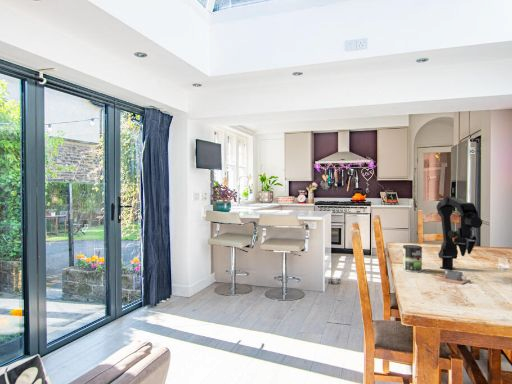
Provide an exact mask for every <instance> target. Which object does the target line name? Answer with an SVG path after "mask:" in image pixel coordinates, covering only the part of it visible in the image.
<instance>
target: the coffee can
mask: <svg viewBox="0 0 512 384" xmlns="http://www.w3.org/2000/svg"><path fill="white" fill-rule="evenodd" d="M402 249H403V250H402V270H403V271H405V272H409V273H420V272H422V270H423V269H422V268H423V267H422V266H423V263H422V261H423V257H422V256H423V246H421V245H415V244H404V245H403V246H402Z"/></svg>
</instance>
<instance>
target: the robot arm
mask: <svg viewBox="0 0 512 384" xmlns="http://www.w3.org/2000/svg"><path fill="white" fill-rule="evenodd" d="M454 209H456V211H457V212H458V213H459V215H458V217H459V228H457V229H458V230H452V229H453V228H452V219H451V216H452V214H454V213H453V212H454ZM436 210H437V214H438V215H439V216H440V218H441V229H442V239H443V241H442V243H441V245H440V250H439V252H438V258H440V259H441V261H442V262H441V266H440V267H439V269H442V270H443V269H444V270H452V271H453V270H454V269H456V267H455V266H454V259H456V260H457V258H458V254H459V253H460V254H461V257H465V255H466V253H467V254H468V255H471V253H472V251H473V250H474V248H475V245H476V244H477V243H478V241H479V236H477V234H473V231H474V228H475V229H479V228H480V227H482V225H483V221H482V219H481V217H479V212H478V210H477V208H476V206H475V204H474V203H473V202H468V201H467V202H465V201H463V200H461V199H458V198H457V197H455V196H445V198H443V199H441V200H440V201H439V202H438V203H437V204H436ZM458 248H459V251H460V252H459V251H458Z"/></svg>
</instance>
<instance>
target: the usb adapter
mask: <svg viewBox="0 0 512 384" xmlns="http://www.w3.org/2000/svg"><path fill="white" fill-rule="evenodd" d="M444 276H445V278H446V279H450V280H456V281H462V280H463V279H468V277H467V275H465V274H463V271H458V270H457V271H456V270H453V269H452V270H449V269H444Z"/></svg>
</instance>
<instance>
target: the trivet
mask: <svg viewBox="0 0 512 384" xmlns="http://www.w3.org/2000/svg"><path fill="white" fill-rule="evenodd" d="M436 281H439V282H440V281H441V282H446V283H450V284H457V285H464V284H466V283H467V282H470V281H471V278H466V279H463V280H462V281H456V280H450V279H446V278H445V275H443V276H441V277H438V278H436Z"/></svg>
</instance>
